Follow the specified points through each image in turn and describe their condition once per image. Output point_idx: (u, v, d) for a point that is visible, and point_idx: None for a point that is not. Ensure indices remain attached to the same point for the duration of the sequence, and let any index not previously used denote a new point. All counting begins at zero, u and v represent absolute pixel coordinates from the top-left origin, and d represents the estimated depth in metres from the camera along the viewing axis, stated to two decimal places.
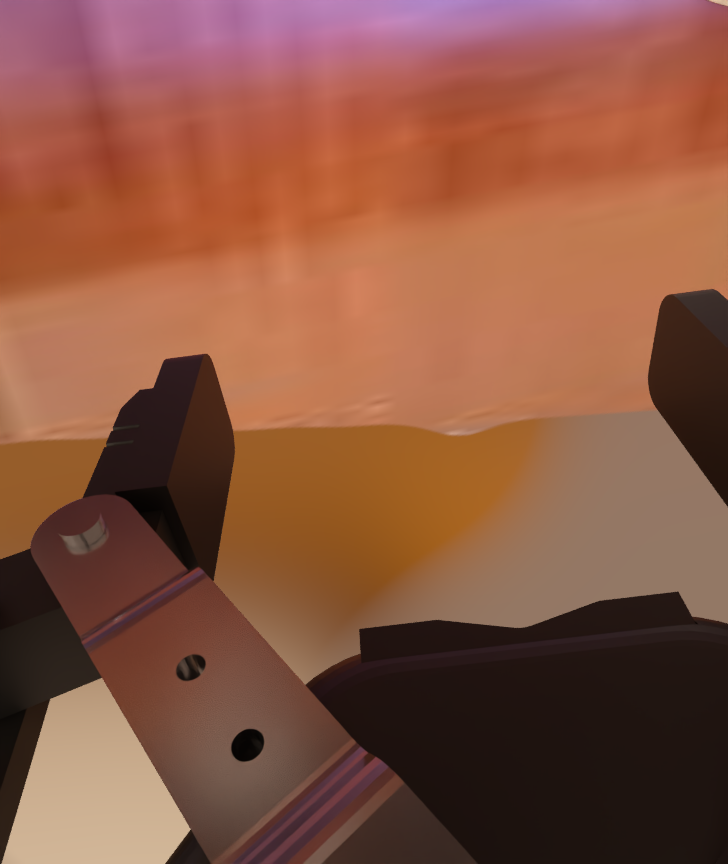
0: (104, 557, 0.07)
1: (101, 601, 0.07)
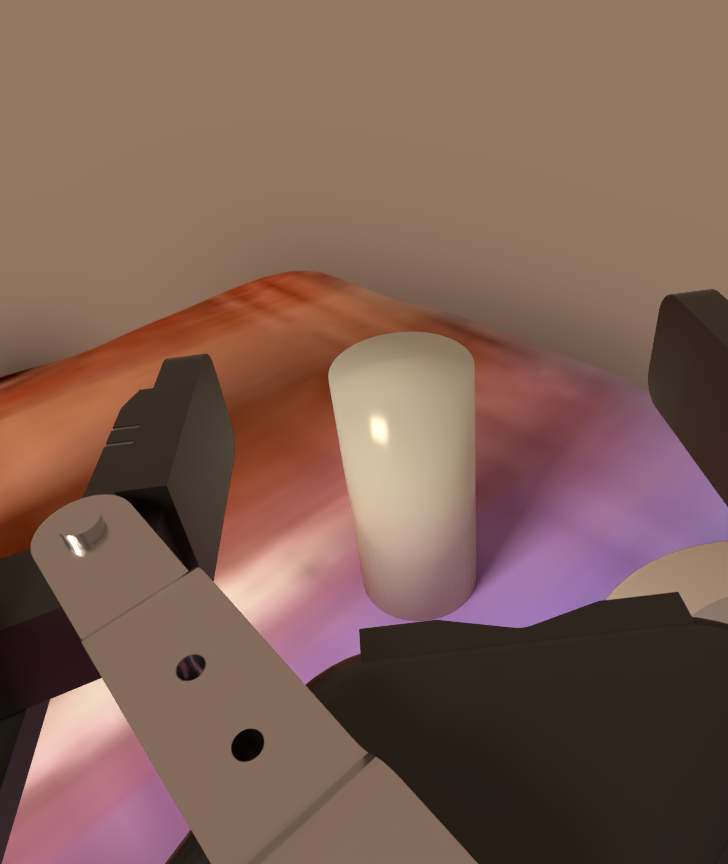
0: (105, 556, 0.07)
1: (101, 601, 0.07)
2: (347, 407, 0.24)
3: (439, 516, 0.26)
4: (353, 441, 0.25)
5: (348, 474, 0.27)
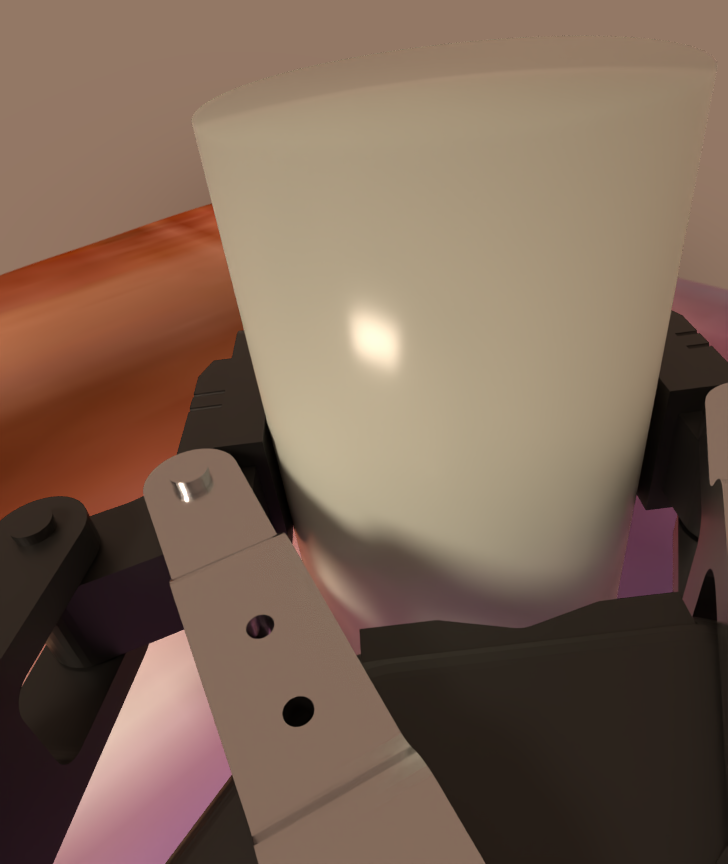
0: (206, 506, 0.08)
1: (222, 540, 0.07)
2: (242, 173, 0.06)
3: (554, 576, 0.08)
4: (277, 327, 0.07)
5: (278, 449, 0.09)
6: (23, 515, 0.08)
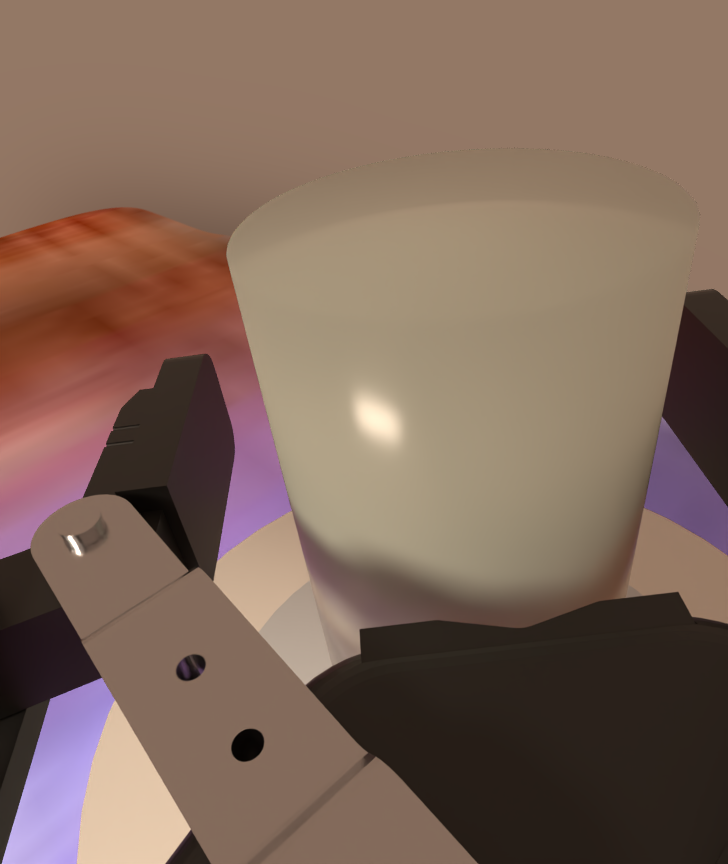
0: (105, 556, 0.07)
1: (101, 601, 0.07)
2: (276, 322, 0.07)
3: None
4: (304, 442, 0.08)
5: (301, 531, 0.10)
6: None
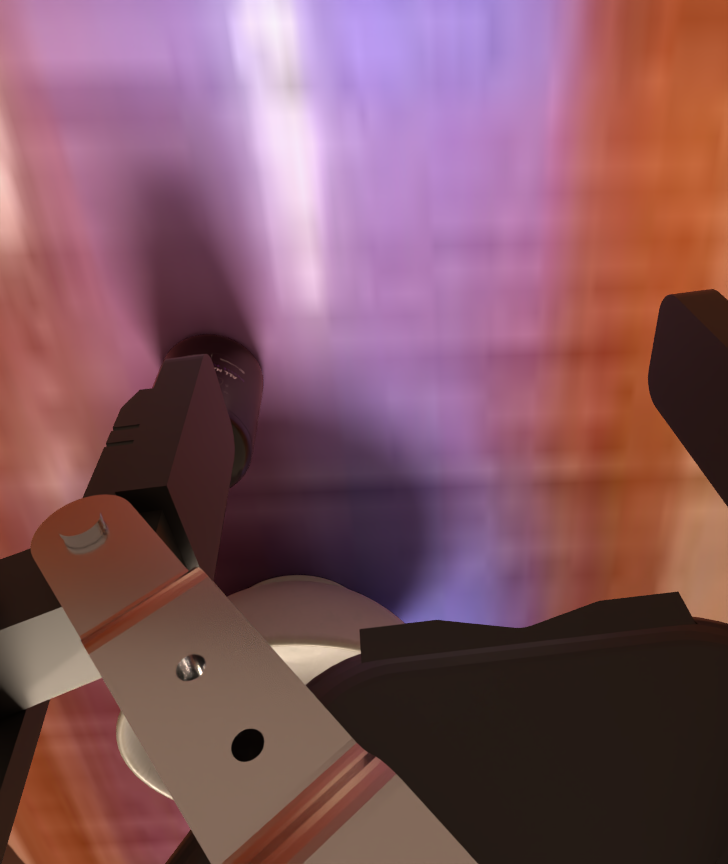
0: (104, 557, 0.07)
1: (102, 601, 0.07)
2: None
3: None
4: None
5: None
6: None
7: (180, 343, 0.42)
